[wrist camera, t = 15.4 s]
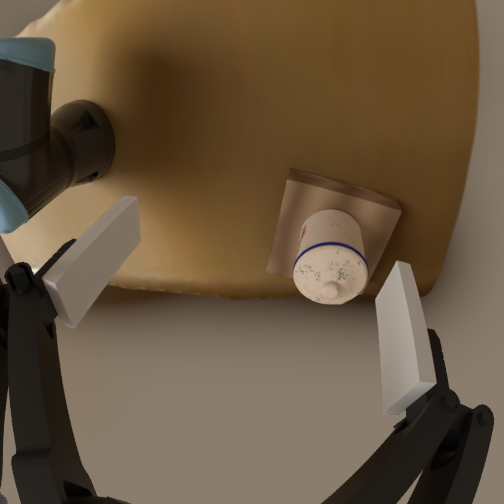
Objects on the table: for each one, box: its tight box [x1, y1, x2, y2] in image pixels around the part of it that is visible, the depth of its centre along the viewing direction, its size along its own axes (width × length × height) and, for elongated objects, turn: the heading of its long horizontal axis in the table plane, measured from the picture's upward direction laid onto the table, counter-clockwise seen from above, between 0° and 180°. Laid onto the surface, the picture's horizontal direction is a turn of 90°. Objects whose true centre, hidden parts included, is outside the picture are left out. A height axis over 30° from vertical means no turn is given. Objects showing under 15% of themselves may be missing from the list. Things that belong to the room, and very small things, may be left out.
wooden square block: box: [266, 168, 402, 295], centre depth 44 cm, size 16×16×4 cm
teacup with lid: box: [293, 209, 369, 304], centre depth 38 cm, size 12×9×12 cm
